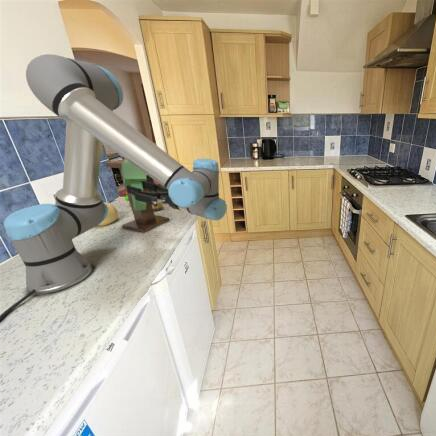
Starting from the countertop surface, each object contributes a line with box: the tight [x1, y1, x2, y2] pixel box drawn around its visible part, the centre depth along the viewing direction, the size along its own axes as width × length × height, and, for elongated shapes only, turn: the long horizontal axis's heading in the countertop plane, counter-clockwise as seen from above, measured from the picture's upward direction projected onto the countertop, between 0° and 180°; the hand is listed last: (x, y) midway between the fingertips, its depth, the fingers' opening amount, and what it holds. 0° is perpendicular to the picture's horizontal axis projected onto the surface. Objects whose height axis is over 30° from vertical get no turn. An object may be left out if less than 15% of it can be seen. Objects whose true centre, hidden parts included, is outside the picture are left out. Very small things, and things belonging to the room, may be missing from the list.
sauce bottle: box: [145, 173, 164, 212], centre depth 129 cm, size 6×6×20 cm
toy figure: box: [121, 160, 147, 210], centre depth 93 cm, size 7×23×5 cm
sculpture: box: [97, 201, 119, 227], centre depth 116 cm, size 12×12×11 cm
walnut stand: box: [105, 158, 170, 233], centre depth 109 cm, size 14×14×30 cm
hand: (135, 186), depth 91 cm, fingers closed on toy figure, 5 cm apart
